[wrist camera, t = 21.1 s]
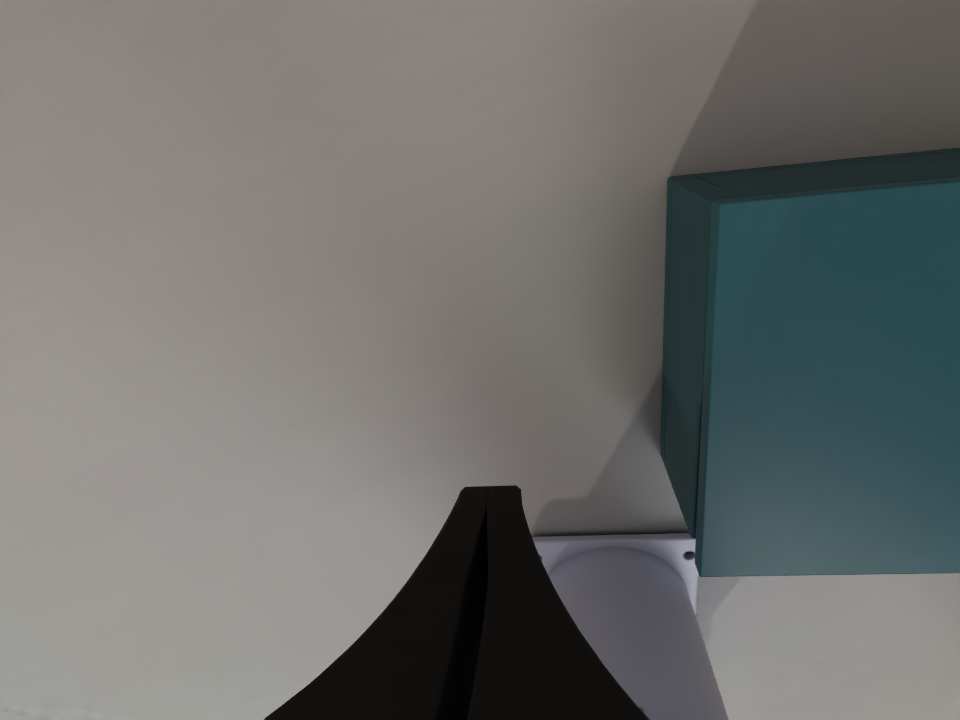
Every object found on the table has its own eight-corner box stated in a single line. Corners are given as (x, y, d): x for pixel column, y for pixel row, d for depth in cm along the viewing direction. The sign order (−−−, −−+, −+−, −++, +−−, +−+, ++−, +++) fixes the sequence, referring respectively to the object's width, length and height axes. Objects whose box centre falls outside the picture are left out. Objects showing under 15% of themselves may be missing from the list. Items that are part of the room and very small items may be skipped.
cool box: (1005, 439, 23) (1132, 529, 18) (660, 454, 24) (691, 539, 19) (1103, 133, 18) (1311, 142, 13) (667, 176, 20) (710, 198, 15)
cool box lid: (1140, 554, 18) (1163, 570, 17) (693, 562, 19) (699, 577, 19) (1313, 143, 13) (1353, 143, 12) (711, 199, 15) (719, 202, 14)
